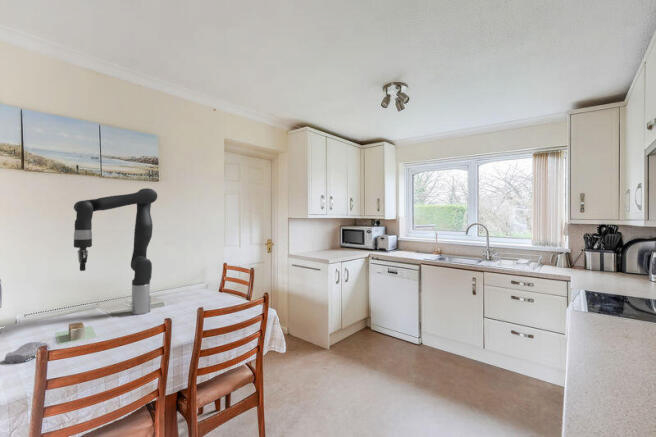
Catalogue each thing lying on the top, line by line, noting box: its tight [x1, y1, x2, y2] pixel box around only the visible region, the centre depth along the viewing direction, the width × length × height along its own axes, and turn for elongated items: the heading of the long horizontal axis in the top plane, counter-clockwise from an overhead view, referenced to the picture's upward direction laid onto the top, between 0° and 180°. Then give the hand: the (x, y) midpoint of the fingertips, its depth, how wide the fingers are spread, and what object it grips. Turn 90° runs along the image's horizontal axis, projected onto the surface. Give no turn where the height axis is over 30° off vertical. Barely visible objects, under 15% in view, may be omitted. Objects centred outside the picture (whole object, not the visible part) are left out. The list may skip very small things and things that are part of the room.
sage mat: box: [54, 325, 98, 346], centre depth 146 cm, size 14×18×1 cm
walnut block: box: [68, 321, 86, 341], centre depth 144 cm, size 5×5×10 cm
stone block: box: [4, 341, 51, 364], centre depth 126 cm, size 12×5×10 cm
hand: (82, 270), depth 160 cm, fingers closed
